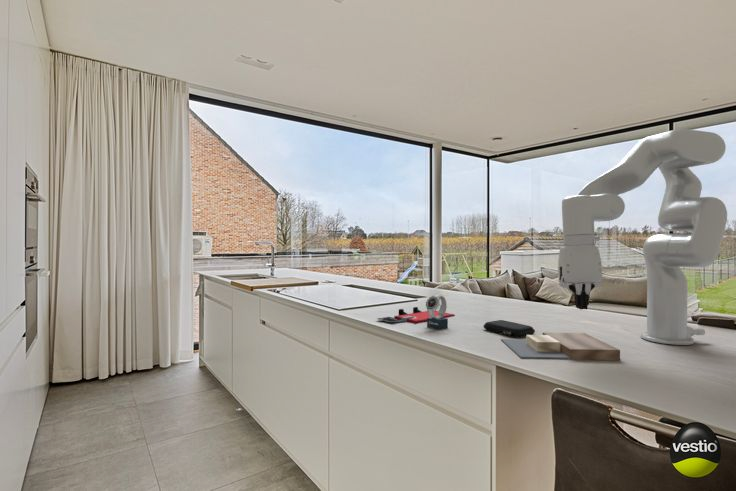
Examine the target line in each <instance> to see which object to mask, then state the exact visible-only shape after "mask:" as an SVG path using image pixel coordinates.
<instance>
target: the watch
mask: <svg viewBox="0 0 736 491" xmlns="http://www.w3.org/2000/svg"><path fill="white" fill-rule="evenodd" d="M440 302H441V304H440ZM425 307H426V311H428V313H429V316H430V317H429V318H427V322H426V327H427V328H430V329H435V330H443V329H449V328H448V327H449V325H448V322H449V319H448V317H447V318H442V317H443V316H444V314H445V313H447V312H446V311H447V307H448V306H447V299H446V297H445V296H443V295H441V294H440V295H438V294H433V295H432V296H429V298H427V300H426V302H425ZM438 308H439V310H438V311H439V312H438V316H435V315H434V313H435V311H437V309H438Z"/></svg>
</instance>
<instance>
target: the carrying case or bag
mask: <svg viewBox="0 0 736 491" xmlns="http://www.w3.org/2000/svg"><path fill="white" fill-rule="evenodd" d="M483 329H485V331H487V332H492V333H495V334H499V335H503V336H508V337H510V338H511V337H512V338H517V339H519V338H524V337H525V338H526V335H534V334H535V331H536V330H535V329H534V328H533V326H531V325H529V324H528V325H527V324H522V323H517V322H513V321H509V320H504V319H499V320H498V319H497V320H491V321H487V322H485V323H484V324H483Z"/></svg>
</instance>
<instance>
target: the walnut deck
mask: <svg viewBox="0 0 736 491" xmlns="http://www.w3.org/2000/svg"><path fill="white" fill-rule="evenodd" d="M542 335H549V336H550V337H552V338H554V339H556V340H557V341H559V342H560V351H561V352H562V353H564V354H565V355H567V356H569V357H570V359H569V360H600V361H601V360H604V361H605V360H607V361H621V350H620V349H619V348H617V347H615V346H613V345H610V344H609V343H606V342H604V341H602V340H600V339H598V338H595V337H594V336H591V335H589V334H587V333H585V332H542Z"/></svg>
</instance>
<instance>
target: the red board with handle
mask: <svg viewBox="0 0 736 491" xmlns="http://www.w3.org/2000/svg"><path fill="white" fill-rule="evenodd" d="M438 312H439V310H436V311H435V313H434V315H435V316H438ZM455 316H456V315H455V314H453V313H448V312H445V314H444V316H443V317H442V318H447V319H448V318H452V317H455ZM429 317H430V316H429V313H428V311H427V310H425V311H422V310H420V309H419V307H417V306H413V309H412V313H407V312H405V311H404V309H403V308H400V309H398V315H394V316H393V317H391V316H386V317H380V318H379V317H378V318H377V320H379V321H384V322H388V323H392V324H393V323H397V322H398V323H399V322H402V321H403V323H406V322H407V323H411V324H416V325H417V324H421V323H427V318H429Z"/></svg>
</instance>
